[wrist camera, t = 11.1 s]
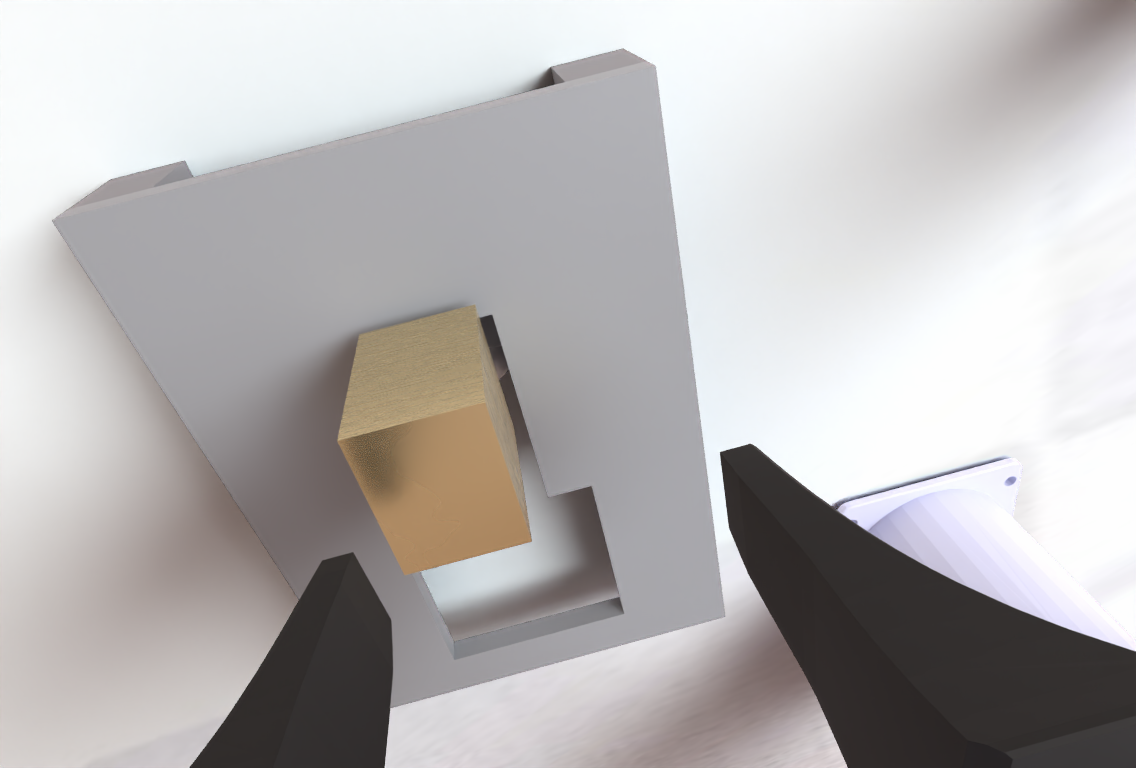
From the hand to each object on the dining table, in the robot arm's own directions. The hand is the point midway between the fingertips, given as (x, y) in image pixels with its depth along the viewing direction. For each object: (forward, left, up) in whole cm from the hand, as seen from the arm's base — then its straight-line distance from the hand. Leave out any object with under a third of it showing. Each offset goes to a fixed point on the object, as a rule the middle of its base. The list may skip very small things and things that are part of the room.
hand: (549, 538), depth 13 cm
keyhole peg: (0, +2, -10) cm, 11 cm away
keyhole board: (-3, +2, -10) cm, 11 cm away
